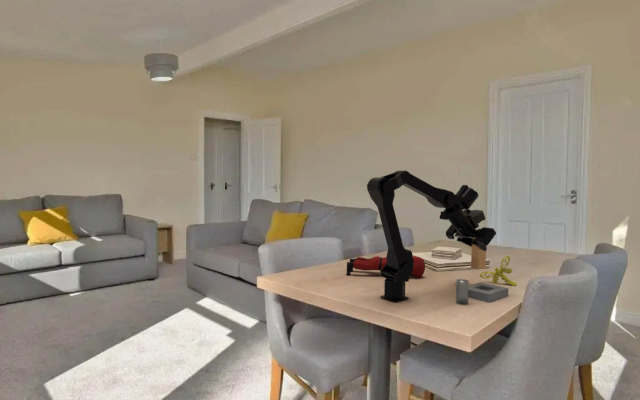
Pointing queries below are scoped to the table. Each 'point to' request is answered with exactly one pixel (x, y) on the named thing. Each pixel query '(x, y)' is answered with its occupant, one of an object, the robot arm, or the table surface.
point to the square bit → (478, 257)
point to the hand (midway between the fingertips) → (481, 249)
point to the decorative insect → (500, 273)
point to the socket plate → (486, 292)
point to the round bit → (462, 291)
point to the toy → (379, 263)
